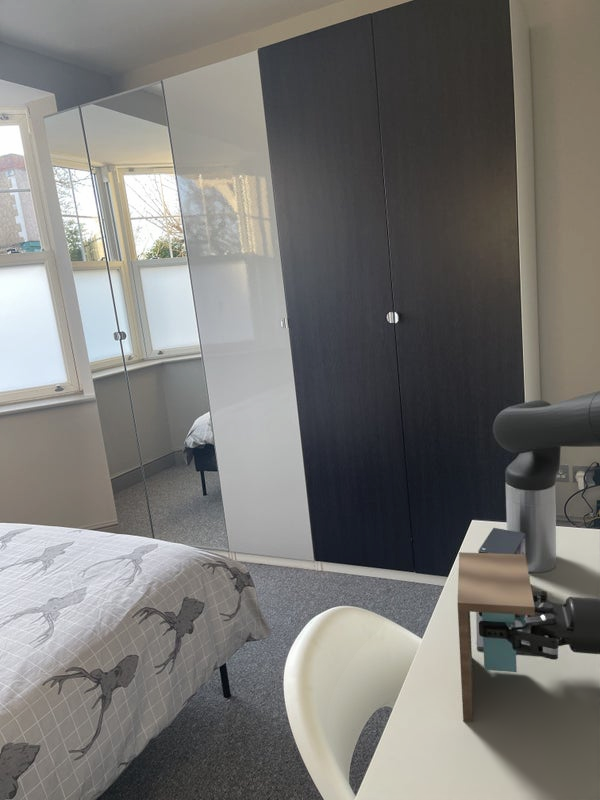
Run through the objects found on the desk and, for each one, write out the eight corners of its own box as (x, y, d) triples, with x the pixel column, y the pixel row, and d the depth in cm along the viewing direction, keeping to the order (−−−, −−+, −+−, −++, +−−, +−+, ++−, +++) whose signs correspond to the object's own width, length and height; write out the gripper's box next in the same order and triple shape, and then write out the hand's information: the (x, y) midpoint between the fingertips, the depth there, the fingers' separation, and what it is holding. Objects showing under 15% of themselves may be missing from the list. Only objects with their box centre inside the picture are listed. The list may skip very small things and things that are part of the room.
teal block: (483, 650, 94) (480, 580, 91) (514, 652, 92) (512, 582, 90) (484, 669, 89) (481, 597, 87) (516, 672, 88) (514, 598, 86)
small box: (515, 610, 107) (513, 556, 105) (478, 603, 111) (476, 550, 108) (527, 582, 116) (526, 531, 113) (493, 575, 119) (491, 526, 117)
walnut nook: (464, 656, 96) (459, 552, 92) (527, 661, 94) (525, 554, 90) (463, 720, 83) (457, 602, 79) (536, 728, 81) (534, 606, 77)
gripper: (595, 576, 91) (477, 571, 96) (616, 633, 78) (478, 624, 83) (594, 620, 93) (479, 613, 98) (615, 683, 80) (480, 671, 84)
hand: (479, 618), depth 90 cm, fingers closed on teal block, 4 cm apart
